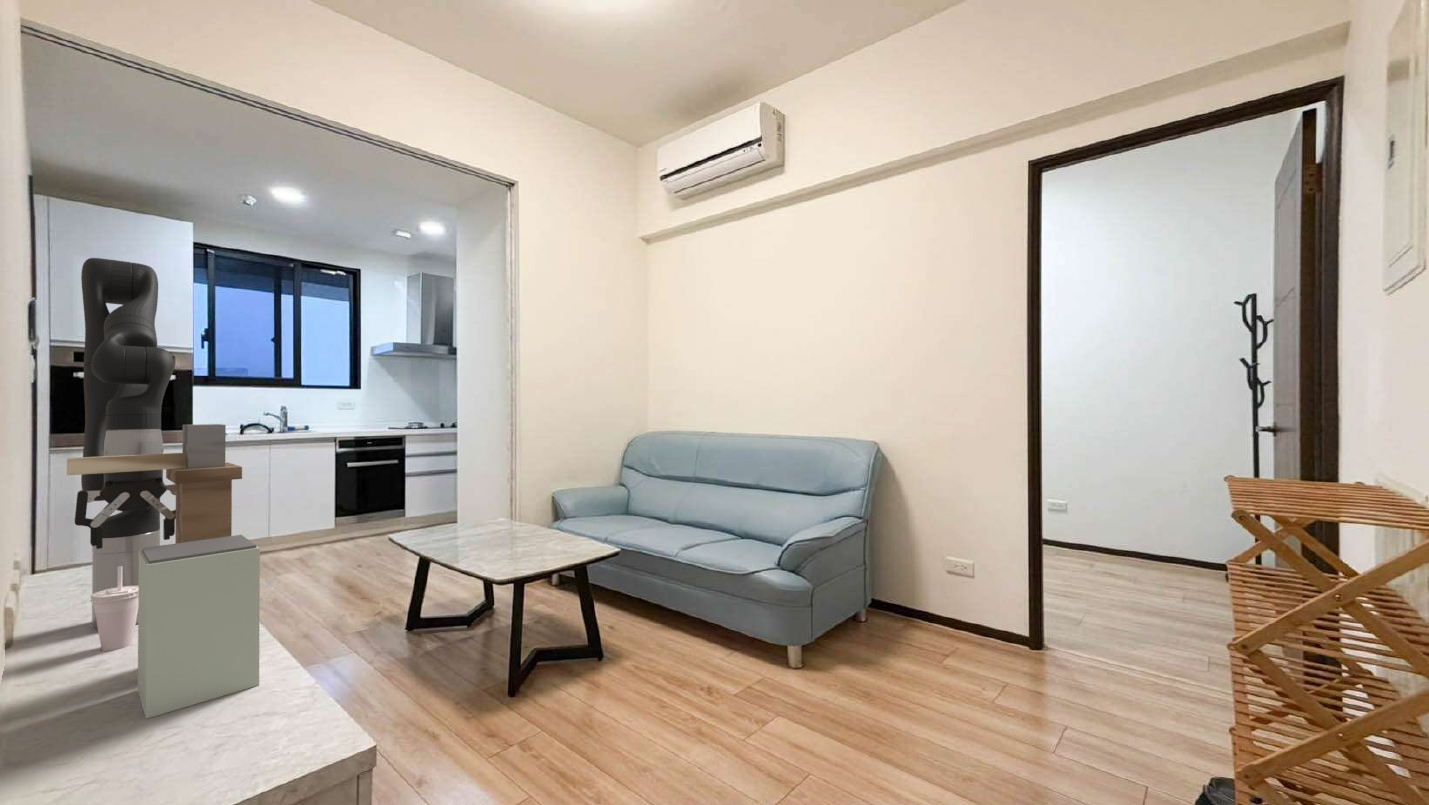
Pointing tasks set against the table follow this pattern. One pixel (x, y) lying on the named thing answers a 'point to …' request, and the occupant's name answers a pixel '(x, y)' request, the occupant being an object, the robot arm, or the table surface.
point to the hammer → (163, 455)
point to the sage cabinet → (197, 622)
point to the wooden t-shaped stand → (203, 501)
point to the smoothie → (116, 614)
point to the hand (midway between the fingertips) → (133, 543)
